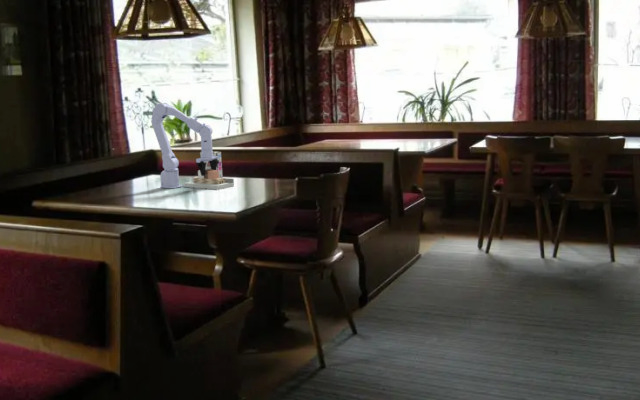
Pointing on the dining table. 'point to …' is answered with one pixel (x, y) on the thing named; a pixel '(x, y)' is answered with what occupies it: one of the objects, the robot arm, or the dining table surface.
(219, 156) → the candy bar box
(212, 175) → the salmon pink cube
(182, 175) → the dining table surface
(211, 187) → the dock
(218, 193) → the dining table surface
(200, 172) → the white cube
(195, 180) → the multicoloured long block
